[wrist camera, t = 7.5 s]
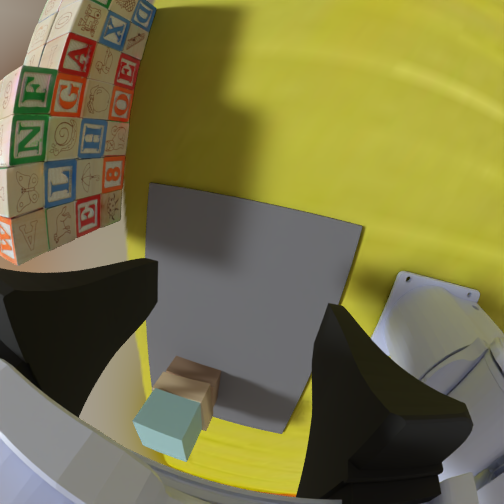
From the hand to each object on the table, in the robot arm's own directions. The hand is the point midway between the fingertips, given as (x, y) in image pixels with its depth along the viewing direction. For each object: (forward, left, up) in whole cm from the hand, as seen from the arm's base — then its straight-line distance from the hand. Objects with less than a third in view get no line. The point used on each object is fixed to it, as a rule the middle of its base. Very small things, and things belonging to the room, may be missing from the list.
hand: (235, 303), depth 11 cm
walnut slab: (+5, +17, -10) cm, 20 cm away
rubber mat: (+2, +11, -10) cm, 15 cm away
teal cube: (+5, +17, -5) cm, 18 cm away
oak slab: (+5, +17, -8) cm, 19 cm away
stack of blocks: (+17, -9, -11) cm, 22 cm away
